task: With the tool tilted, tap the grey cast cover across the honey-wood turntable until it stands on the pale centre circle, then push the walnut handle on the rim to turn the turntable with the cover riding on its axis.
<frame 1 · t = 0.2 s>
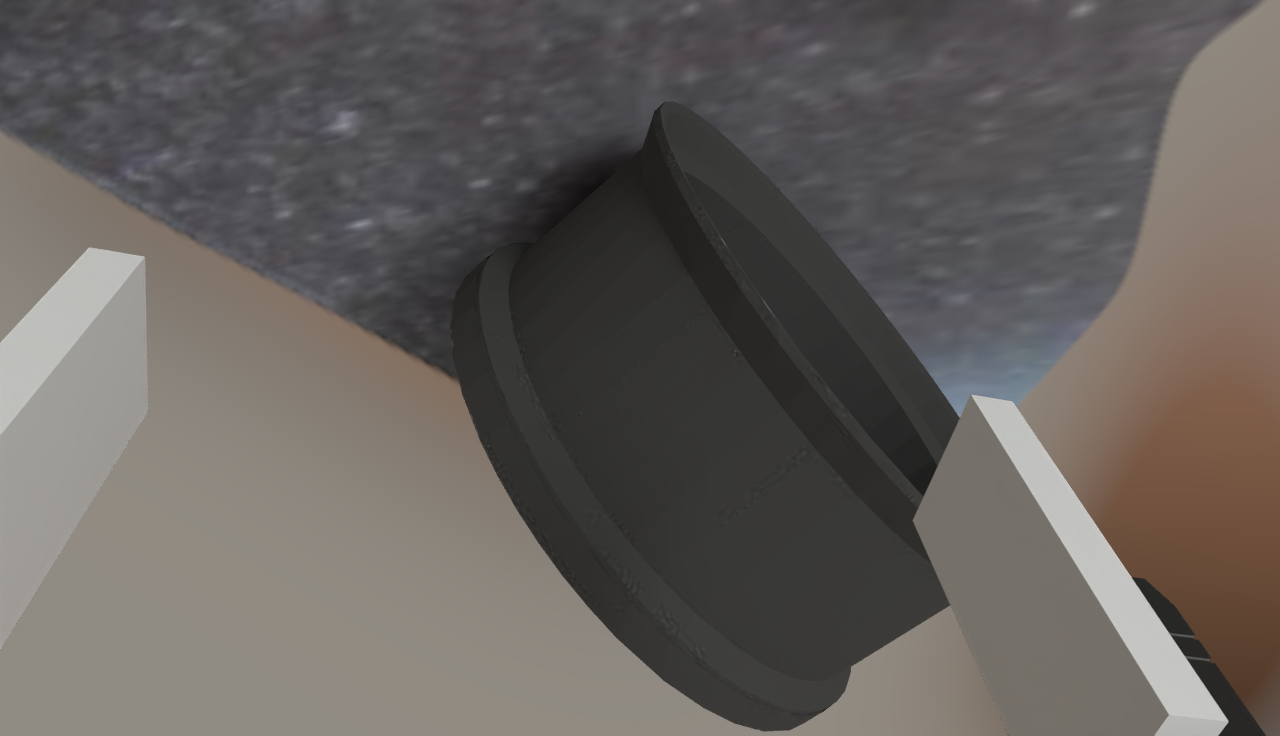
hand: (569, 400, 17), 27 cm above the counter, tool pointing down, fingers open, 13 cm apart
wheel rim: (724, 284, 46), on the counter
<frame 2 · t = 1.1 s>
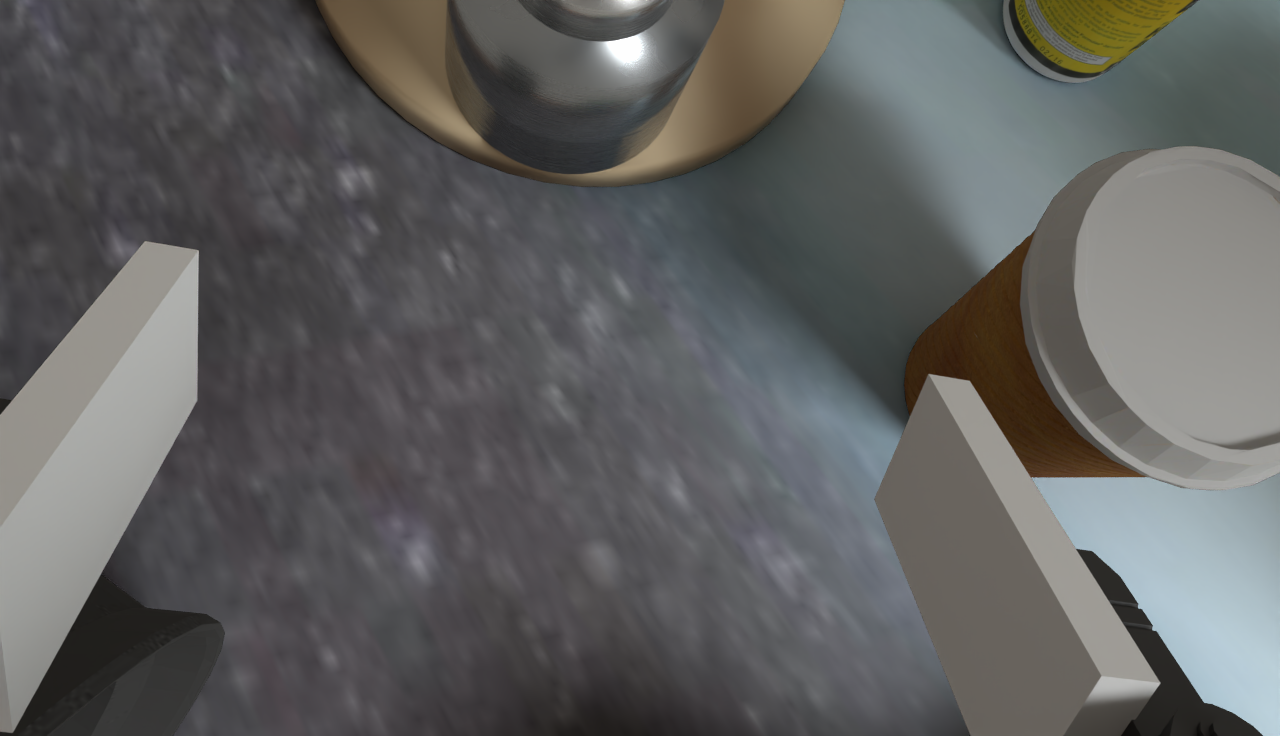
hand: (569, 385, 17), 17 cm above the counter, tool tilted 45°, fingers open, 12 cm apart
disposable coffee cup: (979, 394, 38), on the counter
supplement bottle: (1055, 30, 43), on the counter
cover: (564, 64, 35), point 2 cm above the counter, touching turntable
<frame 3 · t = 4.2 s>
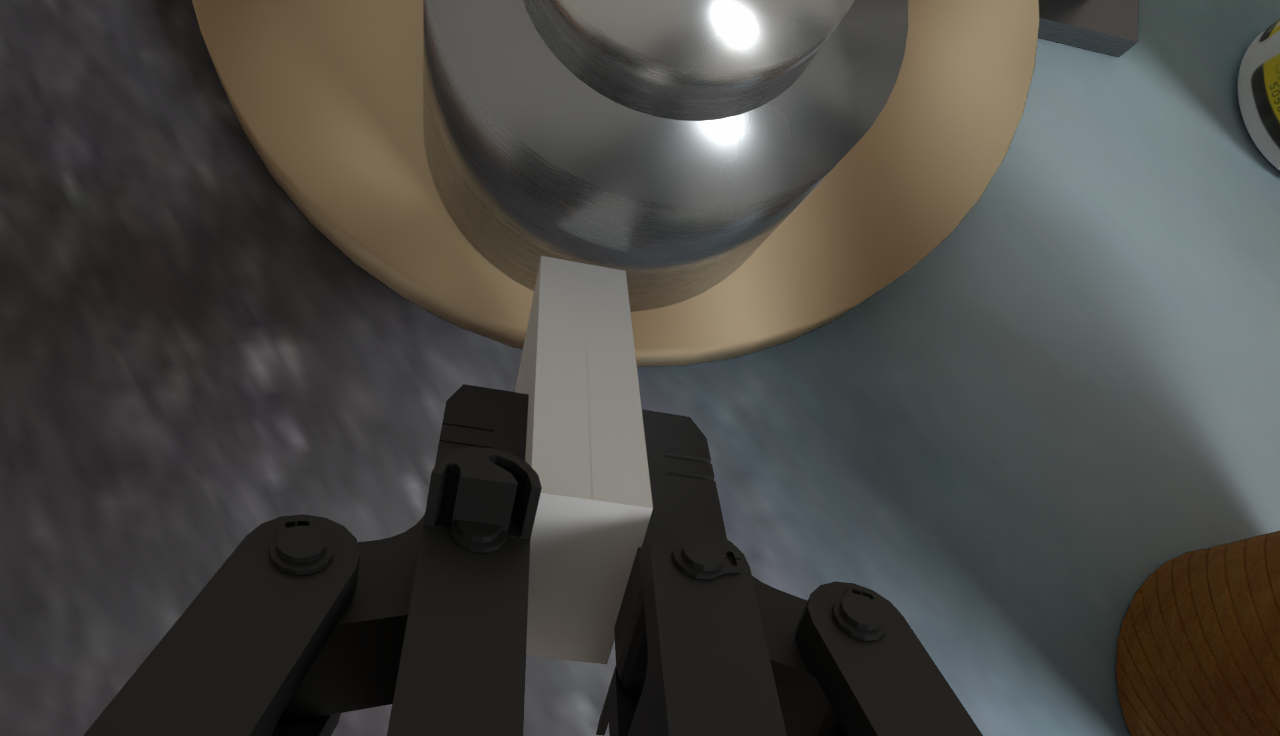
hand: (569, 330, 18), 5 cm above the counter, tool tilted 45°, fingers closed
disposable coffee cup: (1223, 679, 25), on the counter
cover: (611, 133, 22), point 2 cm above the counter, touching gripper
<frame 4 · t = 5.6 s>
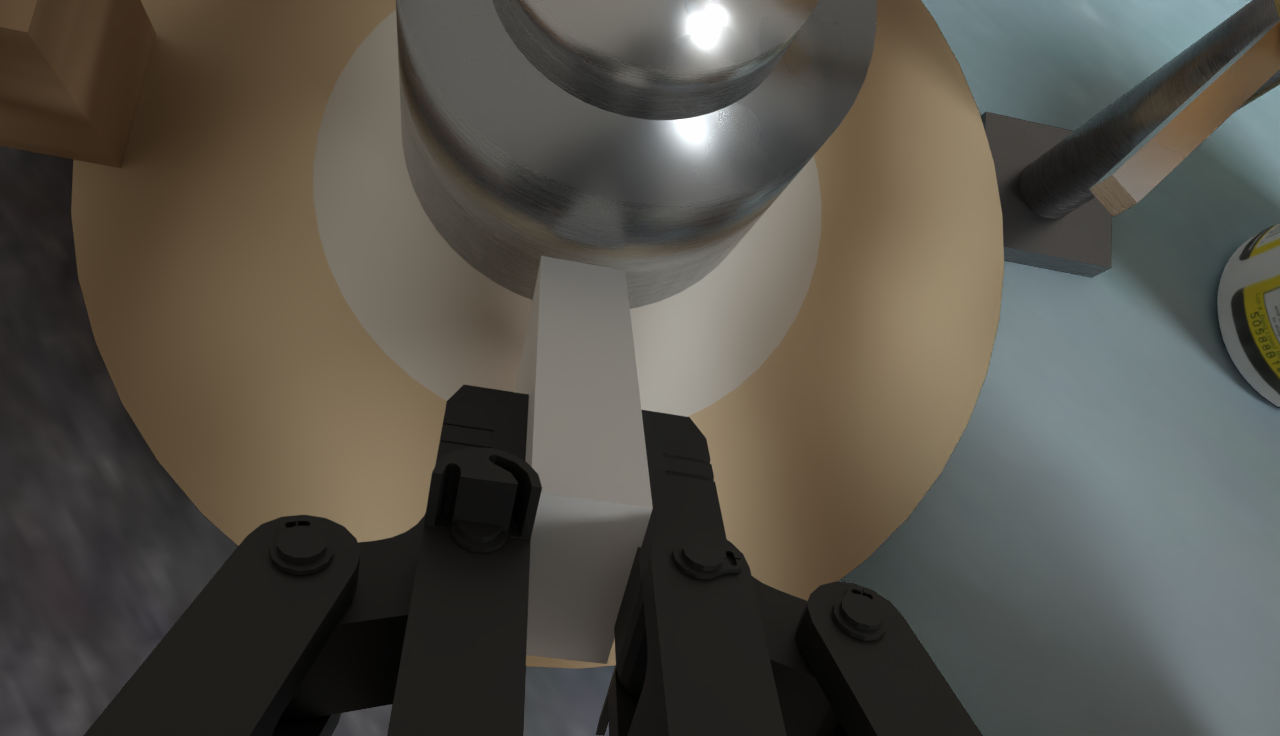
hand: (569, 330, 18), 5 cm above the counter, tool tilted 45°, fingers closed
turntable: (541, 146, 21), point 4 cm above the counter, hinge at 0.0°, touching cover
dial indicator: (1030, 201, 27), on the counter
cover: (589, 135, 22), point 2 cm above the counter, touching turntable
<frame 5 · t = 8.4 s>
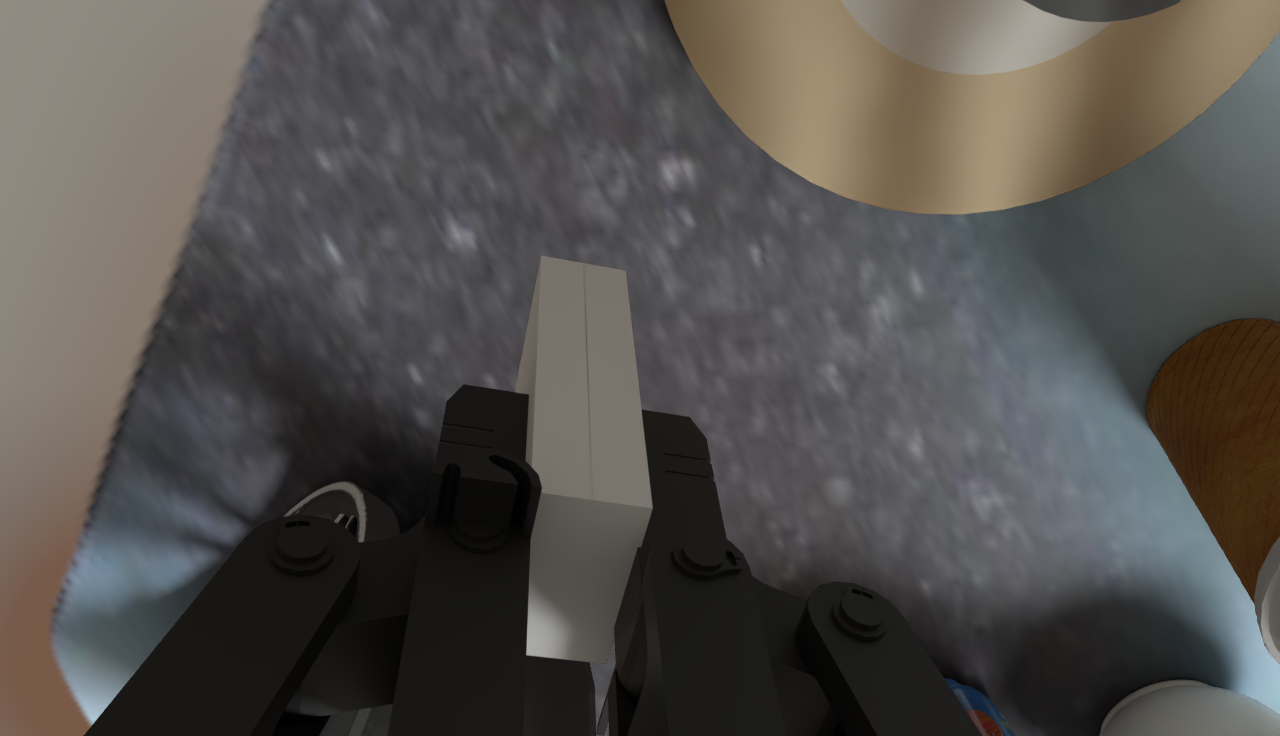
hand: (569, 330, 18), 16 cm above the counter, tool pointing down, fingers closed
lidded jar: (1160, 719, 51), on the counter, touching snack cup
snack cup: (915, 722, 50), on the counter, touching lidded jar
disposable coffee cup: (1223, 384, 40), on the counter
wheel rim: (351, 593, 43), on the counter
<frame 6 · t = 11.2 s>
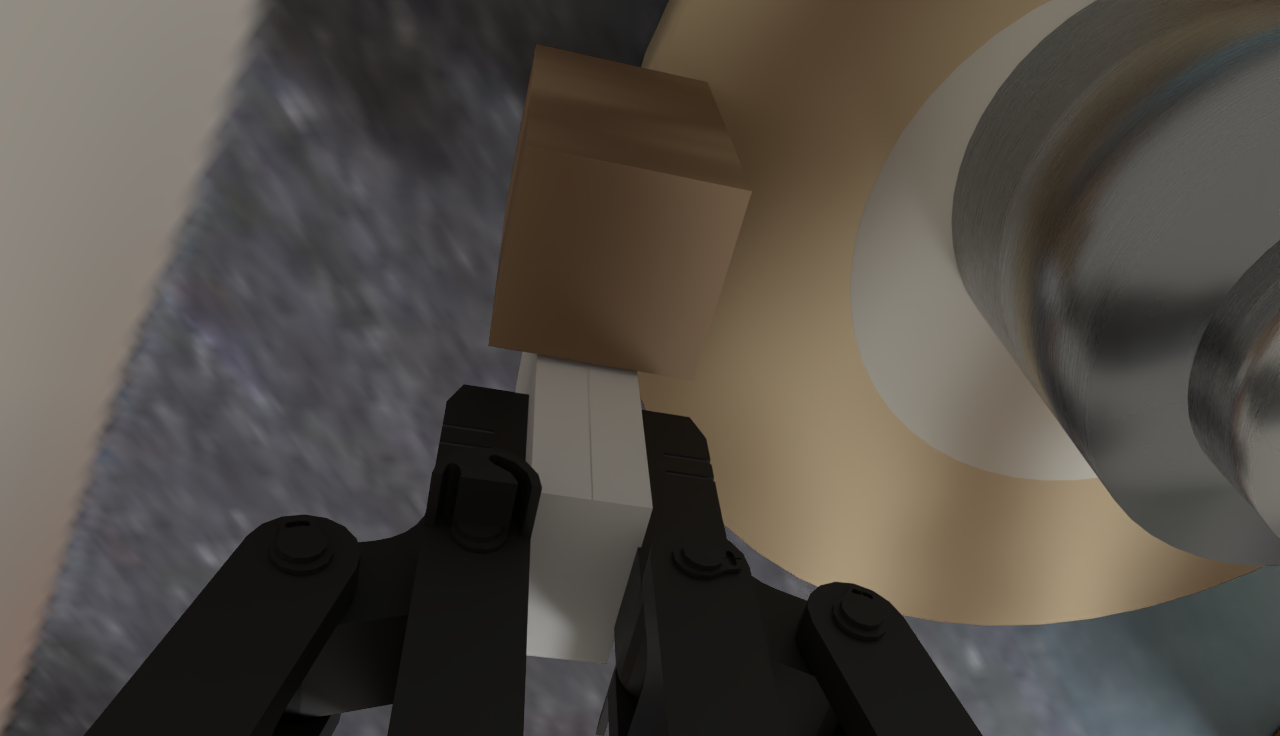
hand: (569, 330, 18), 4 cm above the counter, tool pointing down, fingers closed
turntable: (1119, 281, 19), point 4 cm above the counter, hinge at 0.2°, touching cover, gripper
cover: (1163, 186, 19), point 2 cm above the counter, touching turntable
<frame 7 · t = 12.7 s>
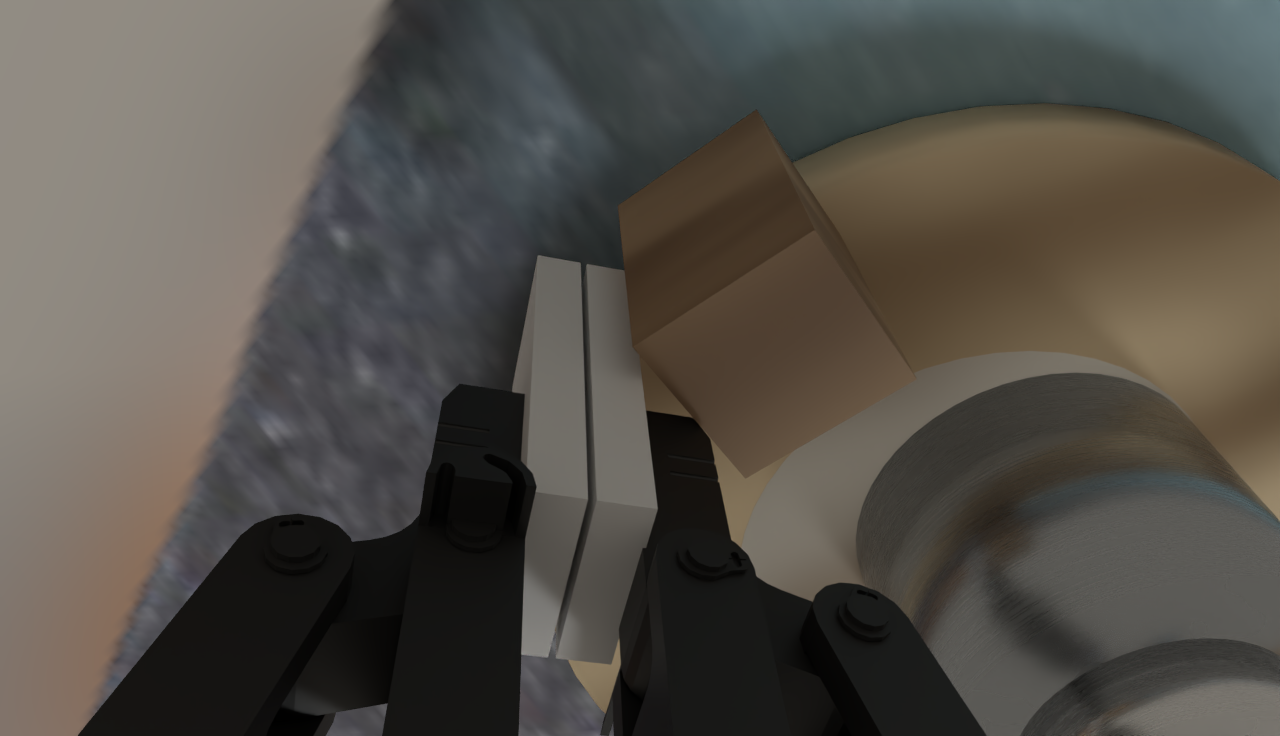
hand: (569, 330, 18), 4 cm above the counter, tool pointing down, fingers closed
turntable: (977, 573, 22), point 4 cm above the counter, hinge at 41.2°, touching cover
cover: (1029, 520, 23), point 2 cm above the counter, touching turntable
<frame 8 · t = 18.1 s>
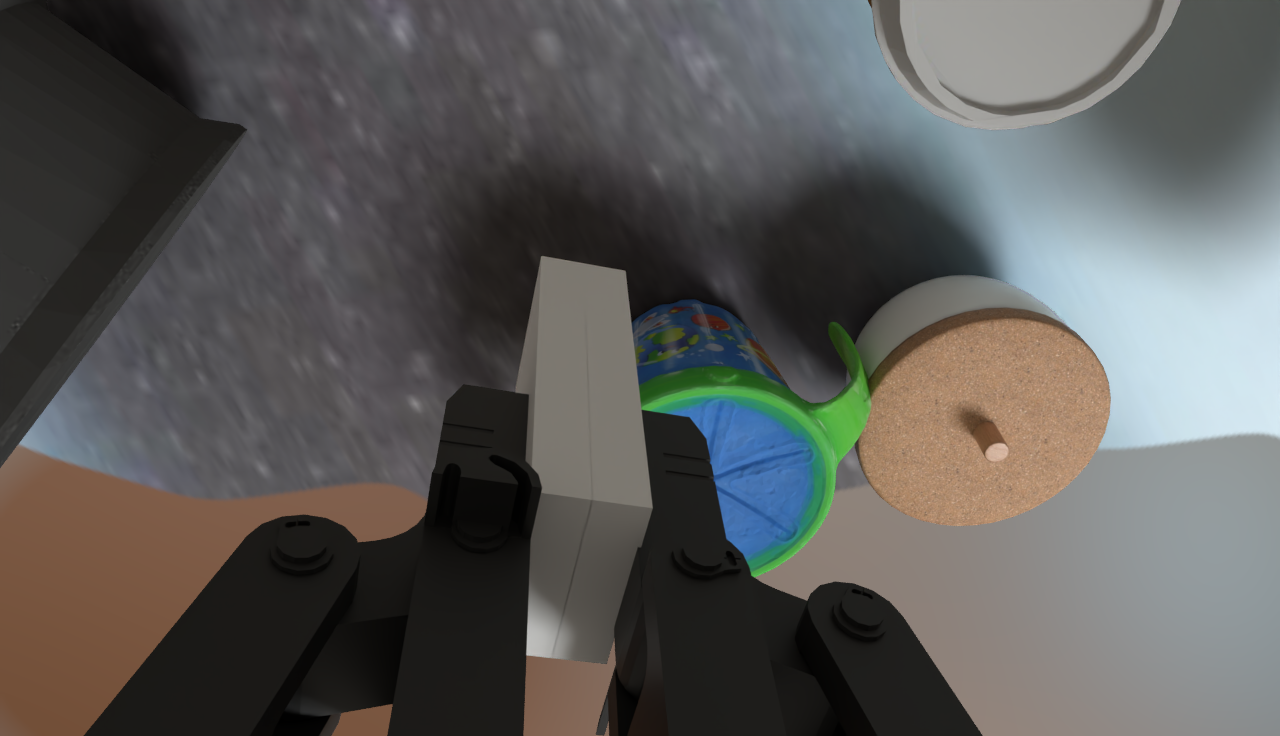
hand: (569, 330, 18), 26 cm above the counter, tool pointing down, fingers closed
lidded jar: (932, 337, 50), on the counter, touching snack cup
snack cup: (680, 361, 50), on the counter, touching lidded jar
wheel rim: (74, 170, 43), on the counter
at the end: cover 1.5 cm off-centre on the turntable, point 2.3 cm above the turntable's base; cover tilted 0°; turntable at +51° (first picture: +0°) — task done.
